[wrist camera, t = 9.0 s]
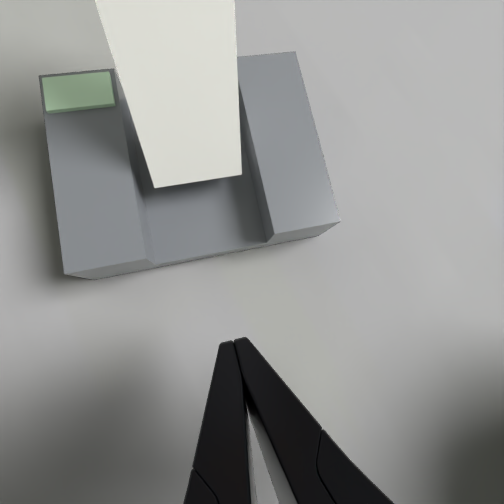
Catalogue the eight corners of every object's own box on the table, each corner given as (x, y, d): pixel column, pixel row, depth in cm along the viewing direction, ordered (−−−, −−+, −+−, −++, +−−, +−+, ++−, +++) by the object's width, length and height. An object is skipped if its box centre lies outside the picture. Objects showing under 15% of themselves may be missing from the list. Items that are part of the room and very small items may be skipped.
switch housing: (318, 235, 17) (342, 220, 13) (94, 279, 15) (61, 273, 12) (282, 92, 18) (296, 48, 15) (71, 117, 16) (36, 72, 13)
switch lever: (252, 178, 14) (246, -284, 6) (145, 195, 13) (-33, -308, 5) (239, 147, 15) (220, -237, 7) (144, 160, 15) (12, -249, 7)
